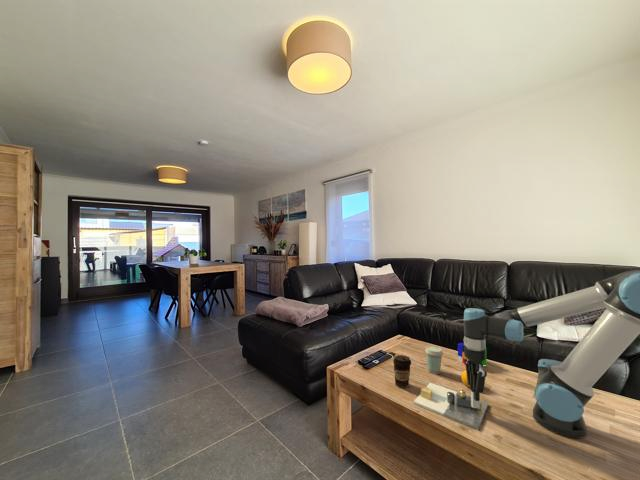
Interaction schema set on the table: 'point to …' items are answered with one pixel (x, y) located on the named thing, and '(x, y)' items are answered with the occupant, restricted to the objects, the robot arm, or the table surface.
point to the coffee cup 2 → (434, 359)
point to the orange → (465, 378)
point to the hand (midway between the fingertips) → (475, 407)
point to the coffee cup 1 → (402, 370)
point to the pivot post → (450, 397)
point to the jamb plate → (466, 414)
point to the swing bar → (465, 400)
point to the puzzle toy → (462, 356)
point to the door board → (434, 398)
